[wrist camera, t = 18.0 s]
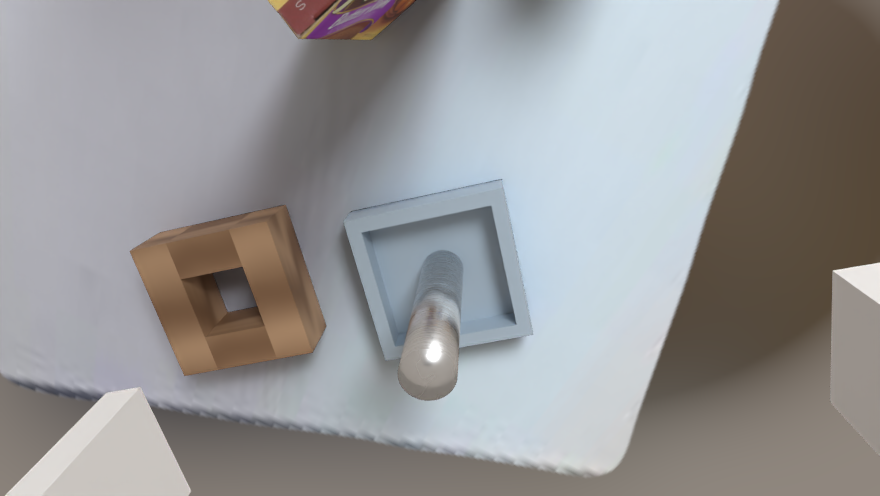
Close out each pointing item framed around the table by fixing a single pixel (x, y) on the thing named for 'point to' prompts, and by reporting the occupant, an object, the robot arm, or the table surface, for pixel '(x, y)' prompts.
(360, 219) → the tray
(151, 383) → the table surface
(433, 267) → the cylinder
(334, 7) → the candy box
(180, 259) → the bore block
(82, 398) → the table surface
